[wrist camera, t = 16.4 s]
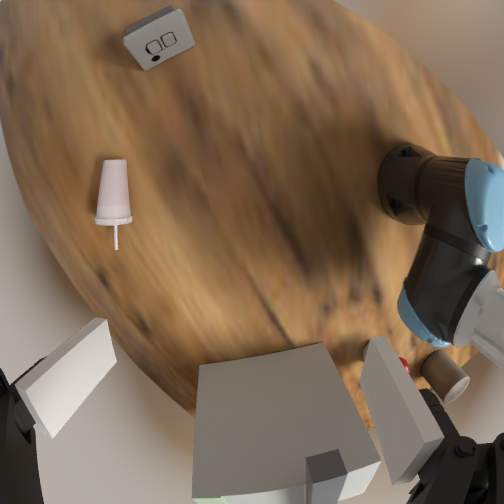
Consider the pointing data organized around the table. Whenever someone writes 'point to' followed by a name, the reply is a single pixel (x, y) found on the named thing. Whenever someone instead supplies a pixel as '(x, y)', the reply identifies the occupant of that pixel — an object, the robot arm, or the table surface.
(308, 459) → the handle
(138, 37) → the electrical switch
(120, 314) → the table surface
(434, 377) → the pillar candle
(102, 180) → the smoothie
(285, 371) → the breaker panel
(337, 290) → the table surface
